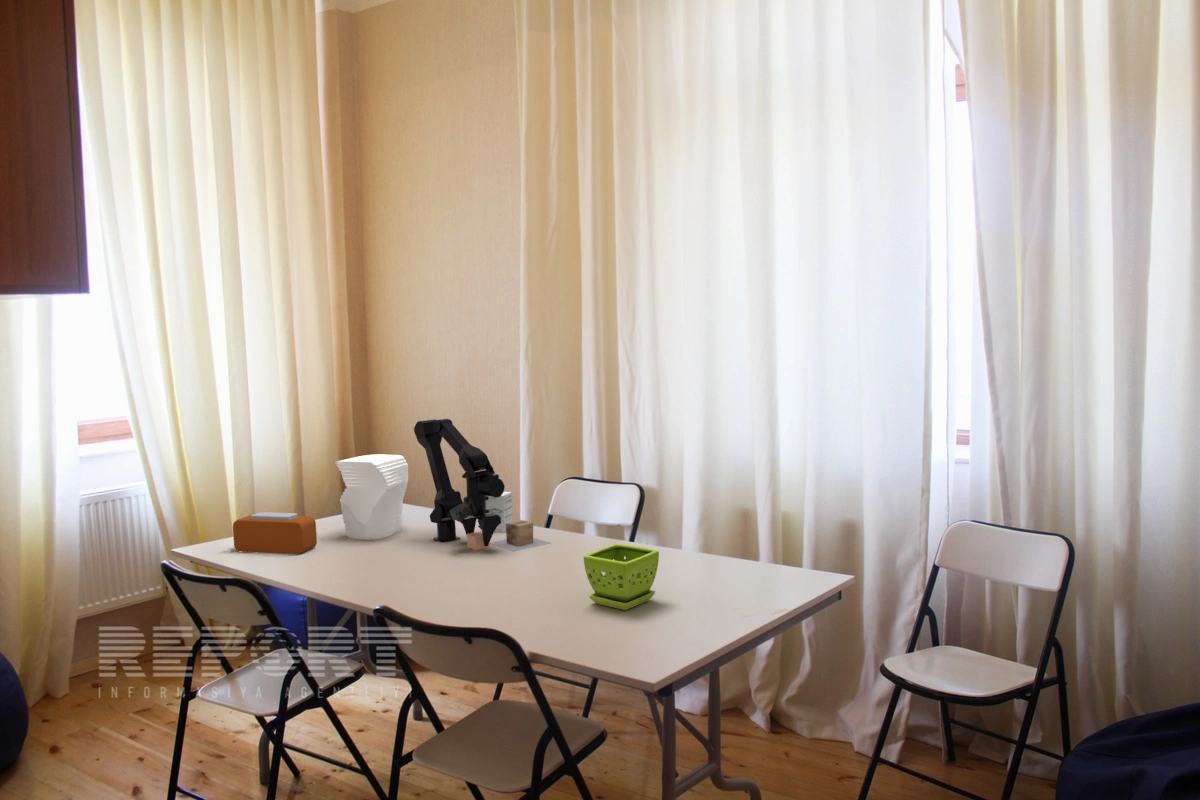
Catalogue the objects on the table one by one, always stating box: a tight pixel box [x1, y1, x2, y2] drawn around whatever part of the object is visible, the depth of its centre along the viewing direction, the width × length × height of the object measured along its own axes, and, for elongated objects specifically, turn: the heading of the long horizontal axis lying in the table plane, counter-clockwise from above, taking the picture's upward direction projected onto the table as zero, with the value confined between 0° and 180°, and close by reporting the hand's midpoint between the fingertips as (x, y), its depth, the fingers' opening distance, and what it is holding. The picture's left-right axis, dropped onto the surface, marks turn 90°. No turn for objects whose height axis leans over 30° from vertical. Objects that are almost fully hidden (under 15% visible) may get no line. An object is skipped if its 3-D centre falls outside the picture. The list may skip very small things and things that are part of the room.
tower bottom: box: [505, 532, 534, 547], centre depth 289 cm, size 6×6×3 cm
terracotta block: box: [466, 530, 491, 551], centre depth 285 cm, size 5×5×4 cm
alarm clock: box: [232, 511, 318, 555], centre depth 289 cm, size 24×8×11 cm, turn 76°
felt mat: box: [489, 537, 552, 552], centre depth 289 cm, size 14×14×1 cm
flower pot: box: [583, 543, 660, 611], centre depth 228 cm, size 14×14×13 cm
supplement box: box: [486, 491, 513, 534], centre depth 307 cm, size 7×7×13 cm
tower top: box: [505, 519, 534, 536], centre depth 289 cm, size 6×6×3 cm
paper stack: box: [334, 453, 410, 541], centre depth 306 cm, size 21×27×26 cm
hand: (478, 543), depth 285 cm, fingers open, 9 cm apart
